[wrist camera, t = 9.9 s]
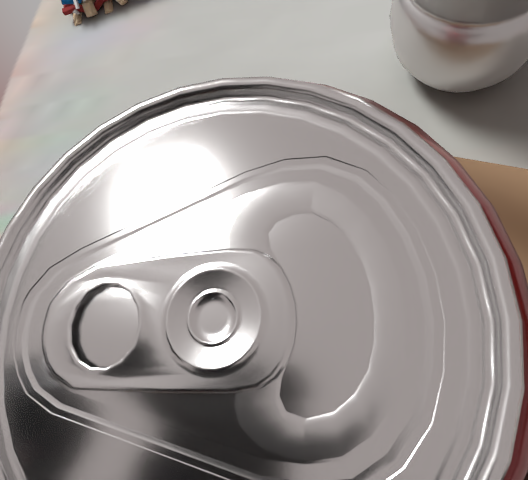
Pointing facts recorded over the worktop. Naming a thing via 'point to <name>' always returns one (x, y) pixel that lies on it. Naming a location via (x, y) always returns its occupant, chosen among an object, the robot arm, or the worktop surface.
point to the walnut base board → (505, 199)
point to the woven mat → (87, 8)
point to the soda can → (261, 300)
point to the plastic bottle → (460, 41)
